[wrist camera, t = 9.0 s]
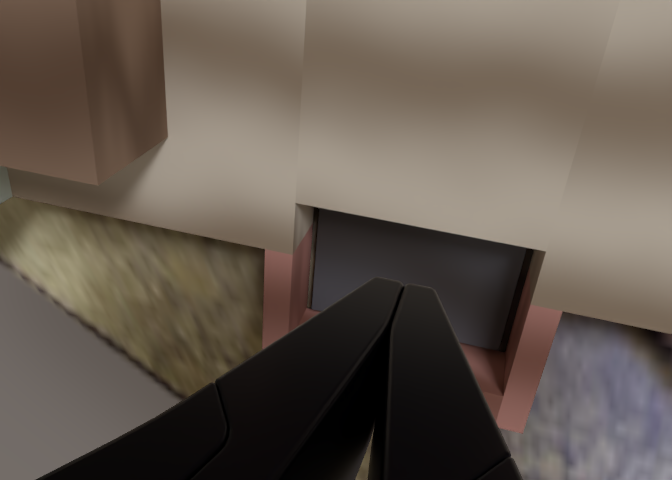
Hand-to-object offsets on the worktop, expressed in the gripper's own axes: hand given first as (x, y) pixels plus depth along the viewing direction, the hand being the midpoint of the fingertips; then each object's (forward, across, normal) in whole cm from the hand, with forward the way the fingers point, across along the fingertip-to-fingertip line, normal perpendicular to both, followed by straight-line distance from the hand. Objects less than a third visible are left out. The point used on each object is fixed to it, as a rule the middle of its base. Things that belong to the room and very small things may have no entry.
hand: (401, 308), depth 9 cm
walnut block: (+10, +12, 0) cm, 16 cm away
